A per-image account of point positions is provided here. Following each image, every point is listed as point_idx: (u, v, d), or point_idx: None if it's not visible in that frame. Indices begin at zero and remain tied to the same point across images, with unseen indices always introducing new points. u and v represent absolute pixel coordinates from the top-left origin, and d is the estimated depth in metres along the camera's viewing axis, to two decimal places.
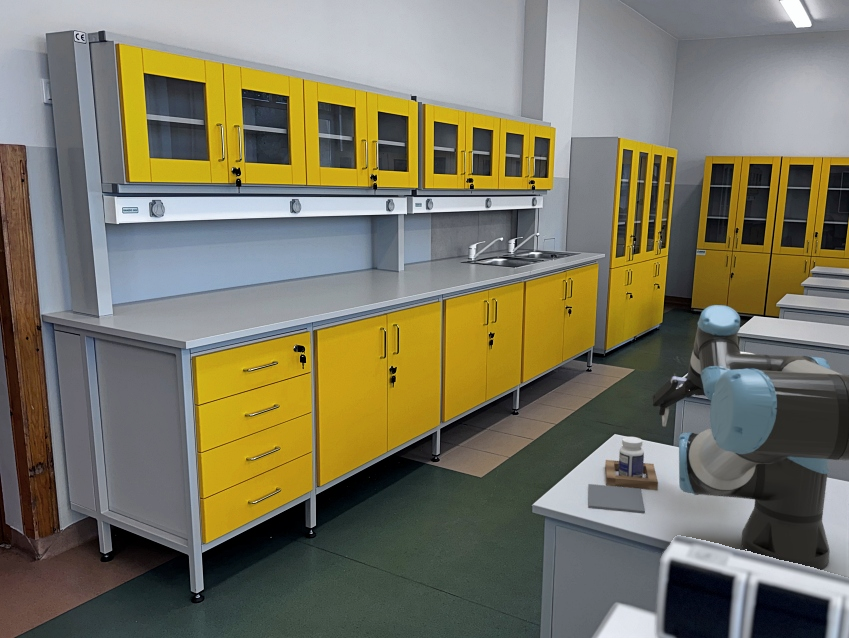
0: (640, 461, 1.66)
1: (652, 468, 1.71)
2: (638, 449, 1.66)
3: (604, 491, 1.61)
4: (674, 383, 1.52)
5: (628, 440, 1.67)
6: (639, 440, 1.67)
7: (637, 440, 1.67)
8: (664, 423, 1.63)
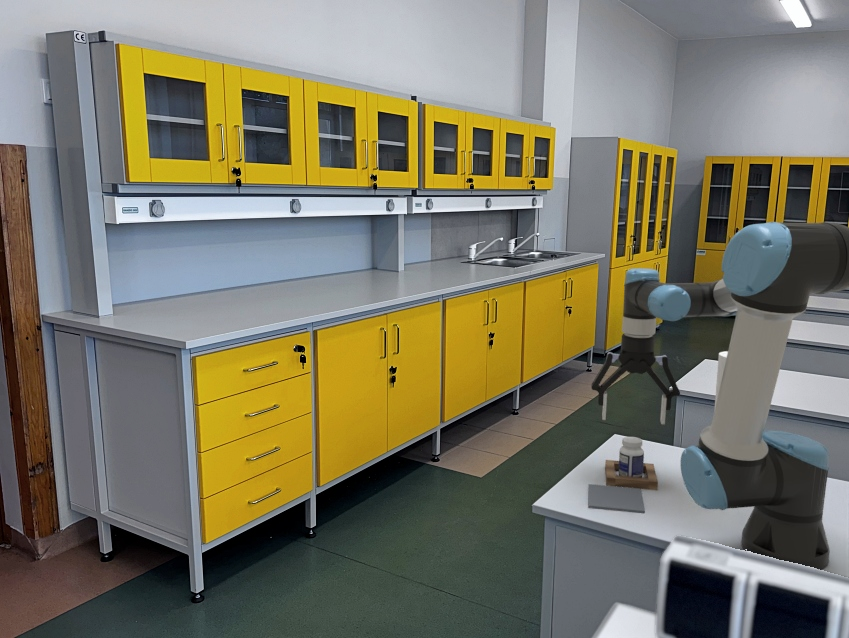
0: (640, 461, 1.66)
1: (652, 468, 1.71)
2: (638, 449, 1.66)
3: (604, 491, 1.61)
4: (609, 355, 1.64)
5: (628, 440, 1.67)
6: (639, 440, 1.67)
7: (637, 440, 1.67)
8: (603, 415, 1.67)
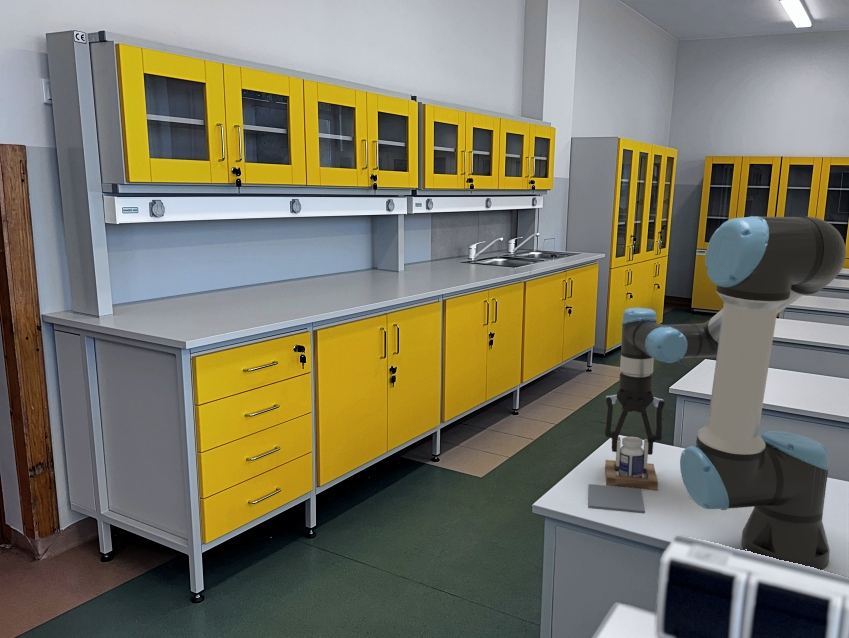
0: (640, 460, 1.66)
1: (652, 468, 1.71)
2: (638, 449, 1.66)
3: (604, 491, 1.61)
4: (607, 399, 1.66)
5: (628, 440, 1.67)
6: (639, 440, 1.67)
7: (637, 440, 1.67)
8: (617, 461, 1.68)
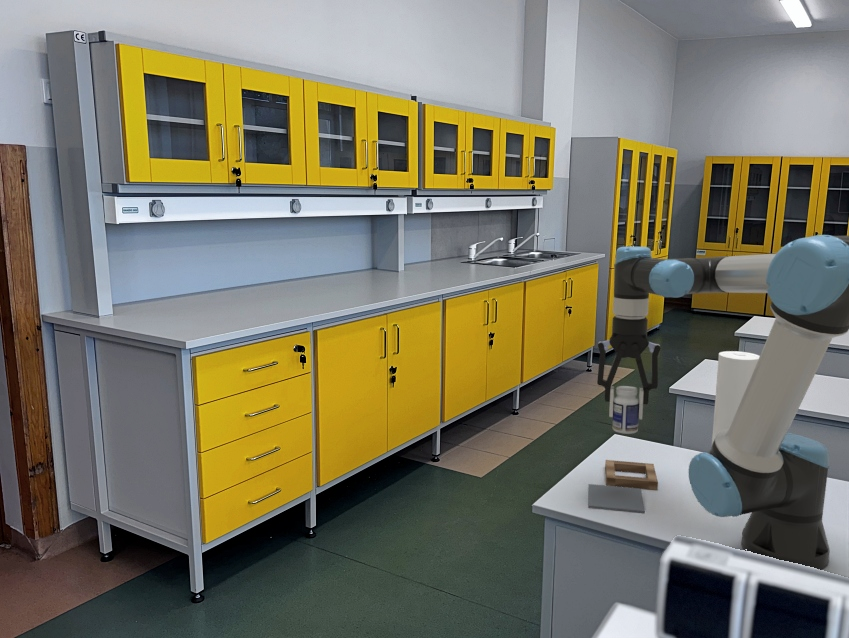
0: (635, 410, 1.56)
1: (652, 468, 1.71)
2: (633, 398, 1.56)
3: (604, 491, 1.61)
4: (599, 345, 1.56)
5: (622, 389, 1.57)
6: (634, 388, 1.57)
7: (632, 389, 1.57)
8: (610, 412, 1.58)
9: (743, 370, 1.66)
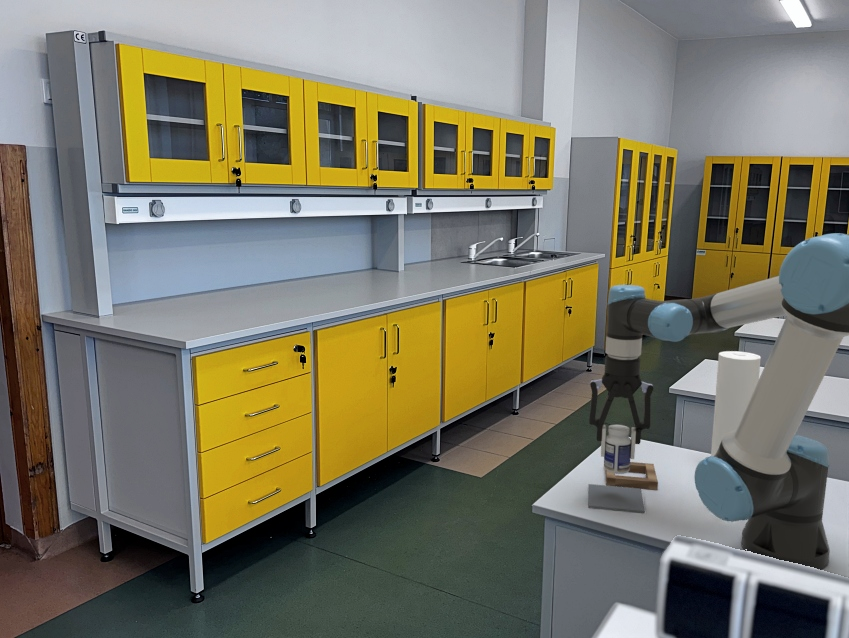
0: (627, 450, 1.54)
1: (652, 468, 1.71)
2: (625, 438, 1.54)
3: (604, 491, 1.61)
4: (592, 384, 1.53)
5: (614, 428, 1.54)
6: (626, 428, 1.55)
7: (624, 428, 1.55)
8: (602, 451, 1.56)
9: (743, 370, 1.66)
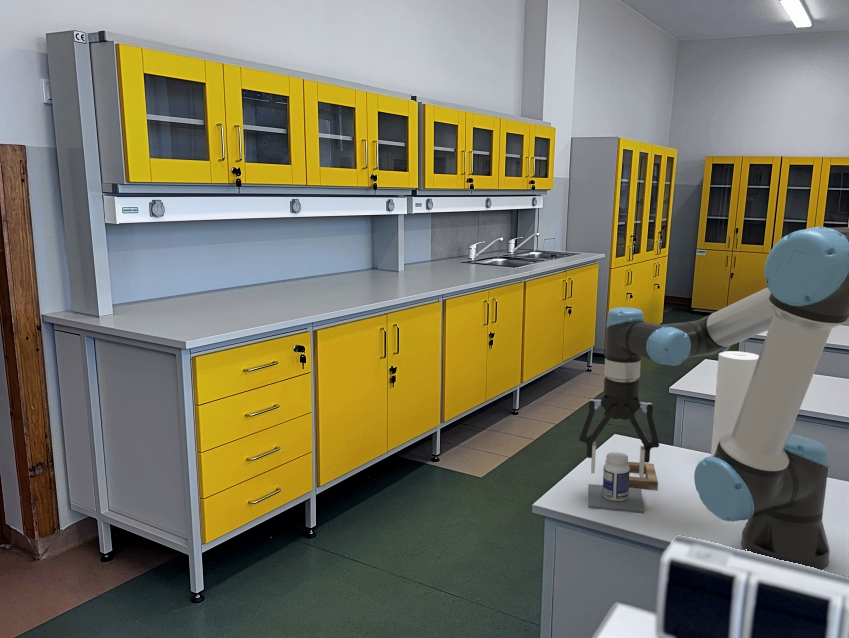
0: (626, 478, 1.55)
1: (652, 468, 1.71)
2: (623, 466, 1.55)
3: None
4: (590, 403, 1.54)
5: (613, 456, 1.55)
6: (624, 456, 1.56)
7: (623, 456, 1.56)
8: (592, 468, 1.57)
9: (743, 370, 1.66)
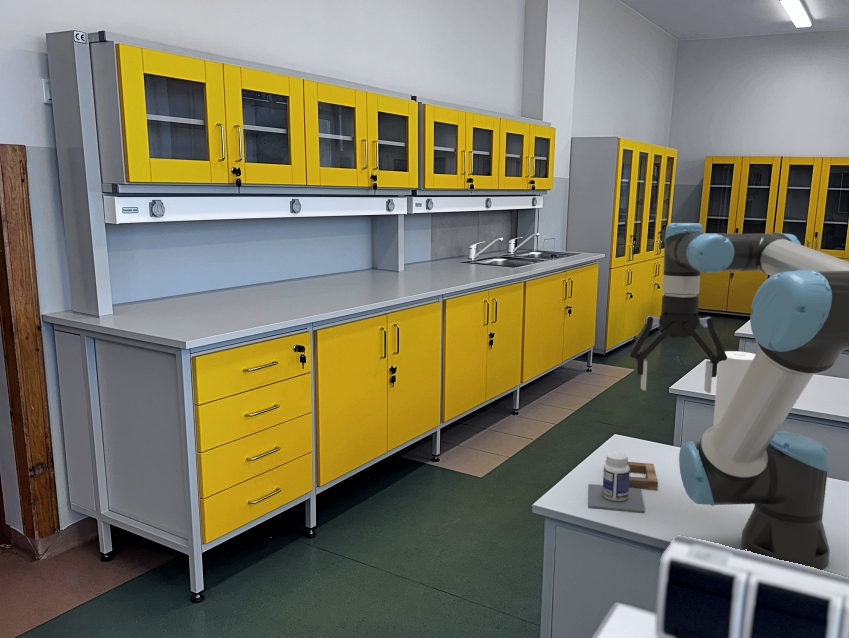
0: (626, 478, 1.55)
1: (652, 468, 1.71)
2: (623, 466, 1.55)
3: None
4: (649, 318, 1.51)
5: (613, 456, 1.55)
6: (624, 456, 1.56)
7: (623, 456, 1.56)
8: (644, 385, 1.53)
9: (743, 370, 1.66)
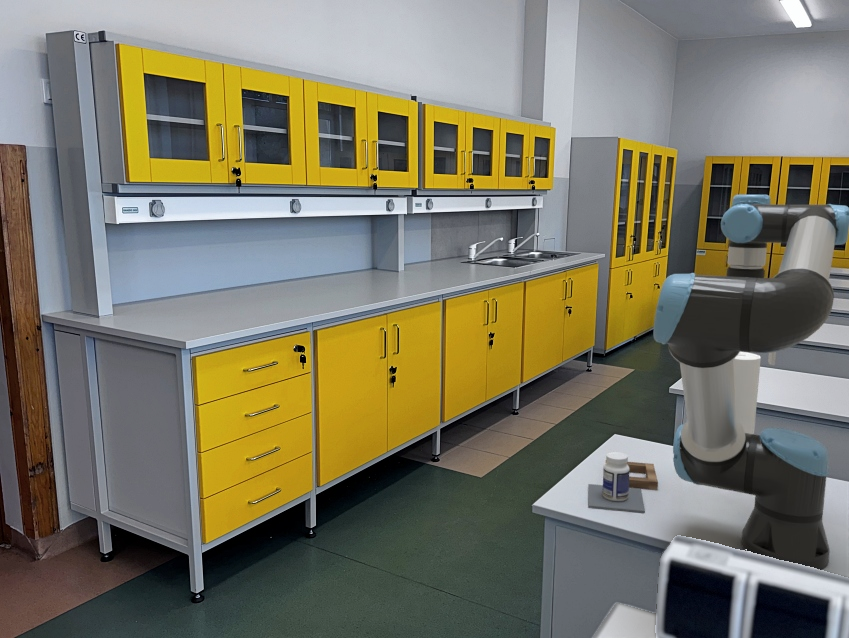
0: (626, 478, 1.55)
1: (652, 468, 1.71)
2: (623, 466, 1.55)
3: None
4: None
5: (613, 456, 1.55)
6: (624, 456, 1.56)
7: (622, 456, 1.56)
8: None
9: (743, 370, 1.66)
